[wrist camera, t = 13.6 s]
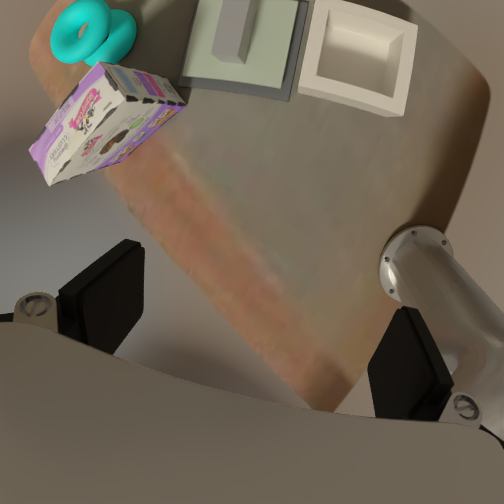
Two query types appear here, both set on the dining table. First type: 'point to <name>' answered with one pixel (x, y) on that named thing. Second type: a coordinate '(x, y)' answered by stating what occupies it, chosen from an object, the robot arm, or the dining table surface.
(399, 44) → the storage box
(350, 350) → the dining table surface
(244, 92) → the rubber mat
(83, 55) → the donuts
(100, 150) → the candy box
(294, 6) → the lid
